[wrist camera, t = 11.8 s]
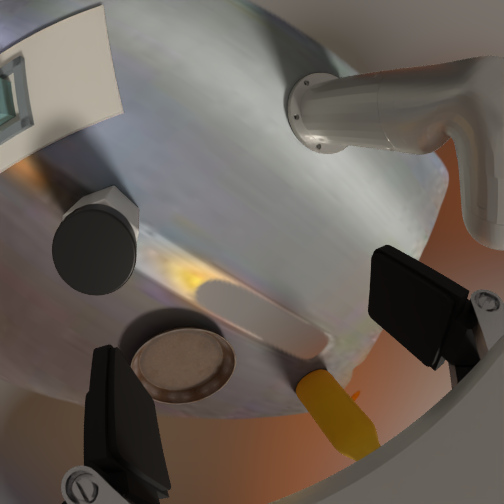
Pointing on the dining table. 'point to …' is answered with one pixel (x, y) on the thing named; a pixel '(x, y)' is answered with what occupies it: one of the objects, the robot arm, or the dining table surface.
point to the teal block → (6, 102)
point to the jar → (97, 242)
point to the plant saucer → (184, 365)
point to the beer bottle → (337, 415)
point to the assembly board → (58, 84)
